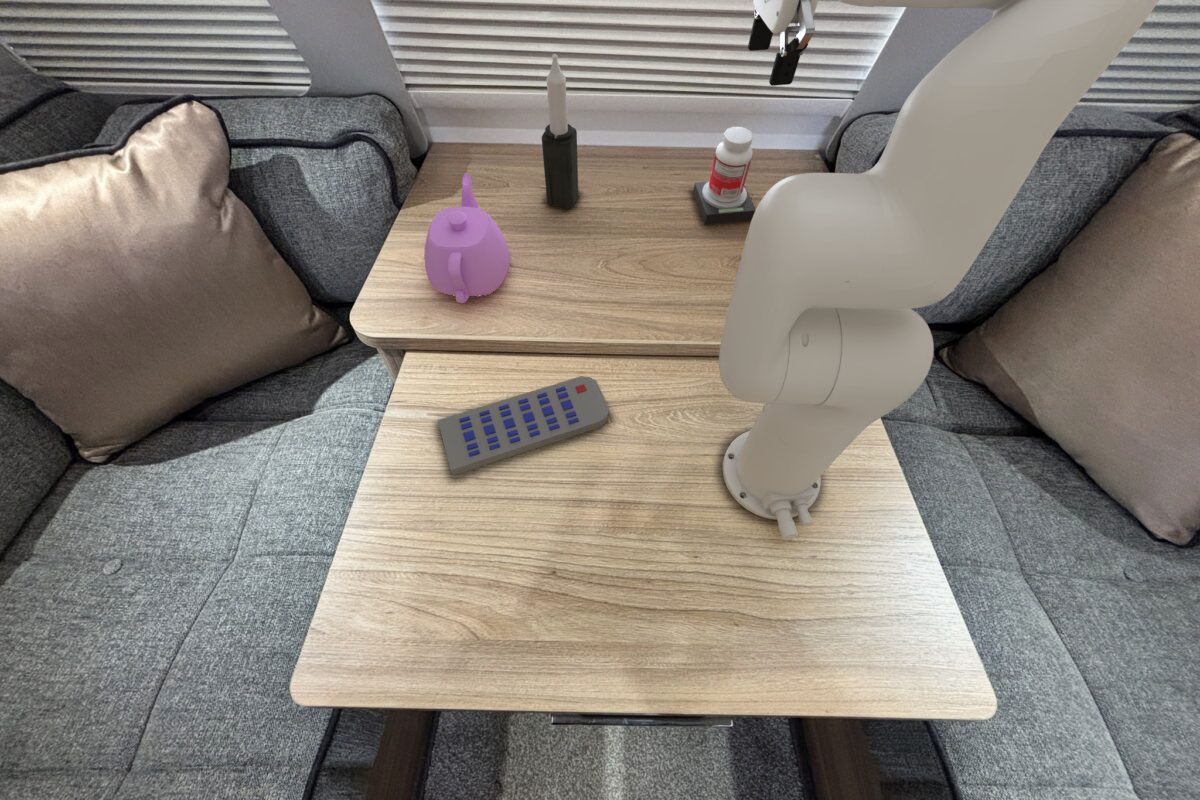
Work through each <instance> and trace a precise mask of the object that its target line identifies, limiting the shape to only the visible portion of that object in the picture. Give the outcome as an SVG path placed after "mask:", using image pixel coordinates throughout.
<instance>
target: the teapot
mask: <svg viewBox="0 0 1200 800" xmlns="http://www.w3.org/2000/svg"><path fill="white" fill-rule="evenodd" d="M423 257H424V258H423V259H424V267H425V271H426V272H425V273H426V275H427V279H428V282H429V283H430V285H431V286H432V288H434V289H435V290H436V291H438V292H439V293H441V294H443V293H444V294H443V295H446V294H448V295H454V296H456V297H455V301H456V302H458V303H459V304H464V303H466V302H467V301H468V300H469V298H470V297H469V296H477V297H476V298H481V297H482V296H479V295H484V296H483V297H486V296H489V295H492V294H493V293H494V292H495V291H497V289H499V288H500V287H501V285H502V284H503V282H504V280H505V279H506V276H507V275H508V272H509V269H510V264H511V254H510V250H509V246H508V243H507V241H506V238H505V236H504V234H503V232H502V230H501V228H500V227H499V225H498V224H497V222H496V221H495V220H494V219H493V217H492V216H491V215H490V214H489V213H488V212H487V211H485V210H484V209H483V208H481V207H479V204H478V202H477V199H476V197H475V194H474V190H473V185H472V175H471V174H470V172H465V173H464V174H463V176H462V180H461V203H460V206H449V207H445V208H442V209H441V210H439V211H437V213H436V214H435V215H434V217H433V218H432V220H431V222H430V224H429V228H428V231H427V234H426V239H425V244H424V255H423ZM493 291H494V292H493ZM491 292H492V293H491ZM489 293H490V294H489ZM486 294H488V295H486ZM448 295H447V296H448Z"/></svg>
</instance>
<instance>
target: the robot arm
mask: <svg viewBox="0 0 1200 800" xmlns="http://www.w3.org/2000/svg"><path fill="white" fill-rule="evenodd" d="M837 1H838V2H840V3H842V4H846V5H850V6H856V7H866V8H874V7H881V8H883V7H884V8H917V9H918V8H920V9H986V10H990V11H991V12H992V16H991V19H989V20H988V21H987V22H986V23H985V24H983V25H982V26H981V27H979V28H978V29H976V30H975V31H974V32H973V33H970V35H968V36H967V37H966V38H965V39H962V41H961V42H960V43H959V44H957V45H956V46H955V47H954V48H952V50H950V51H949V52H948V53H947V54H946V55H945V56H944V57H943V58H942V59H941V60H940V61H939V62H938V63H937V64H936V65H935V66H934V67H933V68H932V69H931V70H930V71H929V72H928V73H927V74H926V75H925V76H924V77H923V78H922V79H921V80H920V81H919V83H918V84H917V85H916V86H915V87H914V88H913V90H912V91H911V92H910V94H909V95H908V97H906V99H905V101H904V103H903V105H902V107H901V108H900V110H899V113H898V115H897V116H896V120H895V122H894V125H893V127H892V130H891V133H890V136H889V138H888V141H887V143H886V145H885V148H884V150H883V152H882V154H881V156H880V157H879V160H878V161H877V163H876V164H875V165H874V166H872V168H870V169H868V170H866V171H864V172H861V173H850V172H846V173H845V172H806V173H805V172H804V173H798V174H793V175H789V176H787V177H784V178H783V179H781V180H779V181H777V182H776V183H775V184H773V186H771V187H770V188H769V189H768V190H767V191H766V193H764V195H763V197H762V198H761V200H759V202H758V205H757V207H756V208H755V213H754V215H753V218H752V220H751V221H750V223H749V228H748V231H747V234H746V237H745V241H744V245H743V249H742V253H741V256H740V261H739V264H738V269H737V273H736V276H735V280H734V284H733V289H732V292H731V296H730V299H729V300H730V301H729V304H728V308H727V313H726V315H725V320H724V323H723V329H722V333H721V336H720V337H721V338H720V344H719V350H718V370H719V376H720V379H721V382H722V384H723V386H724V388H725V390H726V391H728V393H729V394H730V395H732V396H733V397H735V398H736V399H738V400H741V401H743V402H744V401H745V402H749V403H757V404H764V405H763V408H762V409H761V411H760V412H759V414H758V417H757V419H756V420H755V422H754V424H753V426H752V428H751V430H748V431H745V432H743V433H741V434H740V435H738V436H736V438H734V439H733V441H732V442H731V443H730V444H729V445H728V447H727V448H726V451H725V453H724V456H723V460H722V477H723V480H724V483H725V486H726V488H727V490H728V492H729V493H730V495H731V496H732V497H733V498H734V500H735V501H736V502H737V503H738V504H739V505H740V506H742V508H744V509H745V510H747V511H749V512H750V513H752V514H754V515H756V516H758V517H762V518H764V519H770V520H777V526H778V529H779V532H780V535H781V538H782V540H785V541H786V540H793V539H795V538H797V537H799V535H800V534H799V532H798V528H797V525H796V523H795V520H793V518H795V517H798V520H799V522H800V526H801V527H808V526H812V525H813V524H814V522H813V519H812V516H811V513H810V512H809V508H810V507H812V506H813V504H814V503H815V501H816V500H817V498H818V496H819V494H820V491H821V486H822V476H823V474H824V473H825V472H826V471H827V470H828V468H829V467H831V465H832V464H833V463H834V462H835V461H836V459H838V457H839V456H840V455H841V454H842V453H843V452H844V451H845V450H846V449H847V448H848V447H849V446H850V445H851V444H852V443H853V442H854V441H855V440H856V438H857V437H858V436H859V435H860V434H861V433H863V432H864V431H865V429H866V428H868V427H869V426H871V424H873V423H874V422H876V421H878V420H879V419H881V418H883V417H885V416H886V415H888V414H889V413H891V412H893V411H894V410H895V409H897V408H898V407H900V406H901V405H903V404H904V403H905V402H907V400H909V399H910V398H911V397H912V396H913V395H914V394H915V393H916V392H918V390H919V388H920V387H921V386H922V384H923V383H924V381H925V379H926V378H927V376H928V374H929V372H930V370H931V367H932V364H933V359H934V350H935V349H934V347H935V346H934V337H933V334H932V331H931V328H930V327H929V325H928V323H927V322H926V321H925V319H924V317H922V315H920V314H919V313H918V312H917V311H916V310H915V311H914V310H913V309H921V308H925V307H929V306H932V305H934V304H935V305H936V304H937V303H939V302H941V301H943V300H945V299H946V298H947V297H948V296H949V295H950V294H951V293H953V291H954V290H955V289H956V288H957V287H958V285H959V284H960V283H961V281H962V280H963V279H964V277H965V276H966V275H967V274H968V272H969V271H970V269H971V267H972V266H973V265H974V263H975V261H976V260H977V258H978V256H979V255H980V254H981V252H982V250H983V248H985V246H986V244H987V242H988V241H989V239H990V238H991V236H992V234H994V231H995V229H996V228H997V227H998V225H999V223H1000V221H1001V220H1002V218H1003V217H1004V215H1006V212H1007V211H1008V209H1009V207H1010V206H1011V204H1012V203H1013V201H1014V199H1015V198H1016V196H1017V195H1018V193H1019V191H1020V190H1021V188H1022V186H1024V183H1025V182H1026V180H1027V179H1028V177H1029V175H1030V174H1031V172H1032V170H1033V169H1034V167H1035V165H1036V163H1037V162H1038V160H1039V158H1040V157H1041V155H1042V153H1043V151H1044V150H1045V149H1046V147H1047V145H1048V144H1049V142H1050V141H1051V140H1052V138H1053V137H1054V136H1055V134H1056V132H1057V131H1058V129H1059V127H1060V126H1061V125H1062V123H1064V121H1065V120H1066V118H1067V117H1068V116H1069V115H1070V114H1071V112H1072V111H1073V109H1074V108H1075V107H1076V106H1077V104H1078V103H1079V102H1080V101H1081V99H1082V98H1083V97H1084V96H1085V94H1086V93H1087V92H1088V91H1089V90H1090V88H1092V86H1093V85H1094V84H1095V82H1096V81H1097V80H1098V79H1099V78H1100V77H1101V76H1102V74H1103V73H1104V72H1105V71H1106V70H1107V68H1108V67H1110V65H1111V64H1112V63H1113V61H1114V60H1115V59H1116V58H1117V56H1119V54H1120V53H1121V52H1122V50H1123V49H1124V48H1125V47H1126V46H1127V44H1128V43H1129V42H1130V40H1132V38H1133V37H1134V36H1135V35H1136V33H1137V32H1138V30H1139V29H1140V28H1141V27H1142V25H1143V24H1144V22H1145V21H1147V18H1148V17H1149V16H1150V15H1151V13H1152V11H1153V10H1154V9H1155V7H1156V5H1158V2H1159V1H1160V0H837ZM752 4H753V6H754V11H753V12H754V13H753V14H754V15H753V16H754V19H753V23H752V27H751V31H750V35H749V39H748V44H747V50H748V51H749V52H754V51H755V52H757V51H767V50H769V49H770V47H771V43H772V39H773V35H778V34H780V45H779V47H780V50H779V52H776V55H775V58H774V62H773V66H772V69H771V73H770V77H769V81H768V84H769V86H771V87H774V86H787V85H788V86H789V85H791V84H792V83H793V81H794V78H795V75H796V71H797V68H798V65H799V62H800V58H801V56H803V54H804V53H805V50H806V49H807V48H808V46H809V42H810V41H811V40H812V37H813V36H814V34H815V31H816V27H815V26H816V25H815V21H814V15H815V12H816V10H817V7H818V6H817V5H818V4H819V0H752ZM790 24H794V25H791V26H790ZM789 35H795V38H793V39H792V40H791V41H789Z"/></svg>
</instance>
